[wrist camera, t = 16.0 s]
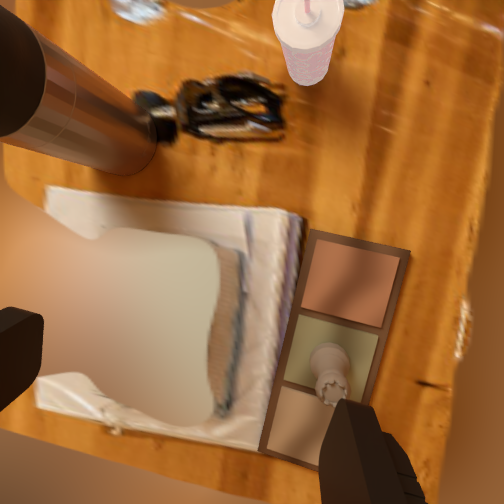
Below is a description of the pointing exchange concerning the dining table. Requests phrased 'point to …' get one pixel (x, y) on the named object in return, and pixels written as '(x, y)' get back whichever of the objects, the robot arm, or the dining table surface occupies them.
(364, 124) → the dining table surface
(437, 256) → the dining table surface
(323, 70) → the beverage cup
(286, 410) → the tile board
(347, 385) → the rook chess piece
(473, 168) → the dining table surface
